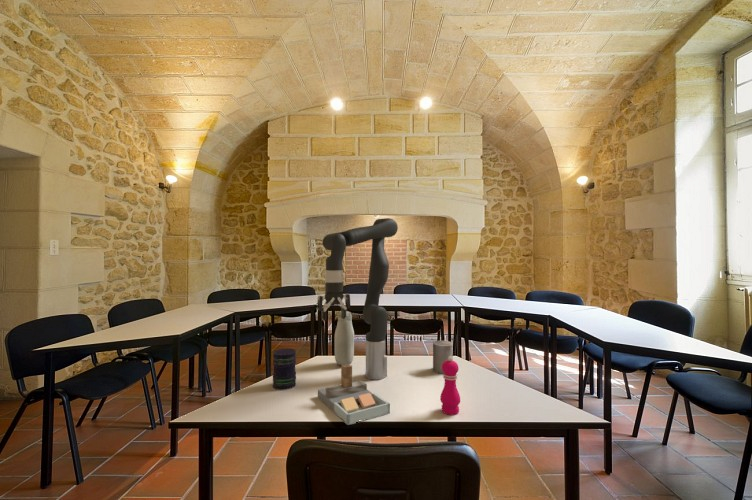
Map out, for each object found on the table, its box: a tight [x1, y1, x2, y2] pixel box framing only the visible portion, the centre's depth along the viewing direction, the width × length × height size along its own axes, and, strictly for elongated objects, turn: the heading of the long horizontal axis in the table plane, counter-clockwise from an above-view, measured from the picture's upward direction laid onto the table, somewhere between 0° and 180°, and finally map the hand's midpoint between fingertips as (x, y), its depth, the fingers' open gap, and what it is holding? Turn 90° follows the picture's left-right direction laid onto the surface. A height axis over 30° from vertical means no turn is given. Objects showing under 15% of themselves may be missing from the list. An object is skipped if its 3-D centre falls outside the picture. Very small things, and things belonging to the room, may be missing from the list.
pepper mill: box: [439, 356, 461, 416], centre depth 127 cm, size 7×7×20 cm
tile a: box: [358, 393, 376, 409], centre depth 130 cm, size 5×5×2 cm
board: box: [317, 381, 374, 413], centre depth 137 cm, size 17×16×3 cm
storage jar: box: [272, 348, 297, 391], centre depth 152 cm, size 10×10×15 cm
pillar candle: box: [432, 340, 454, 375], centre depth 171 cm, size 10×10×15 cm
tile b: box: [340, 397, 359, 413], centre depth 126 cm, size 5×5×2 cm
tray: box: [333, 392, 391, 426], centre depth 125 cm, size 17×11×4 cm, turn 121°
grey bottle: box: [334, 310, 355, 366], centre depth 180 cm, size 10×10×28 cm
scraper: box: [325, 364, 368, 399], centre depth 137 cm, size 16×4×10 cm, turn 121°
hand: (334, 319), depth 146 cm, fingers open, 8 cm apart
